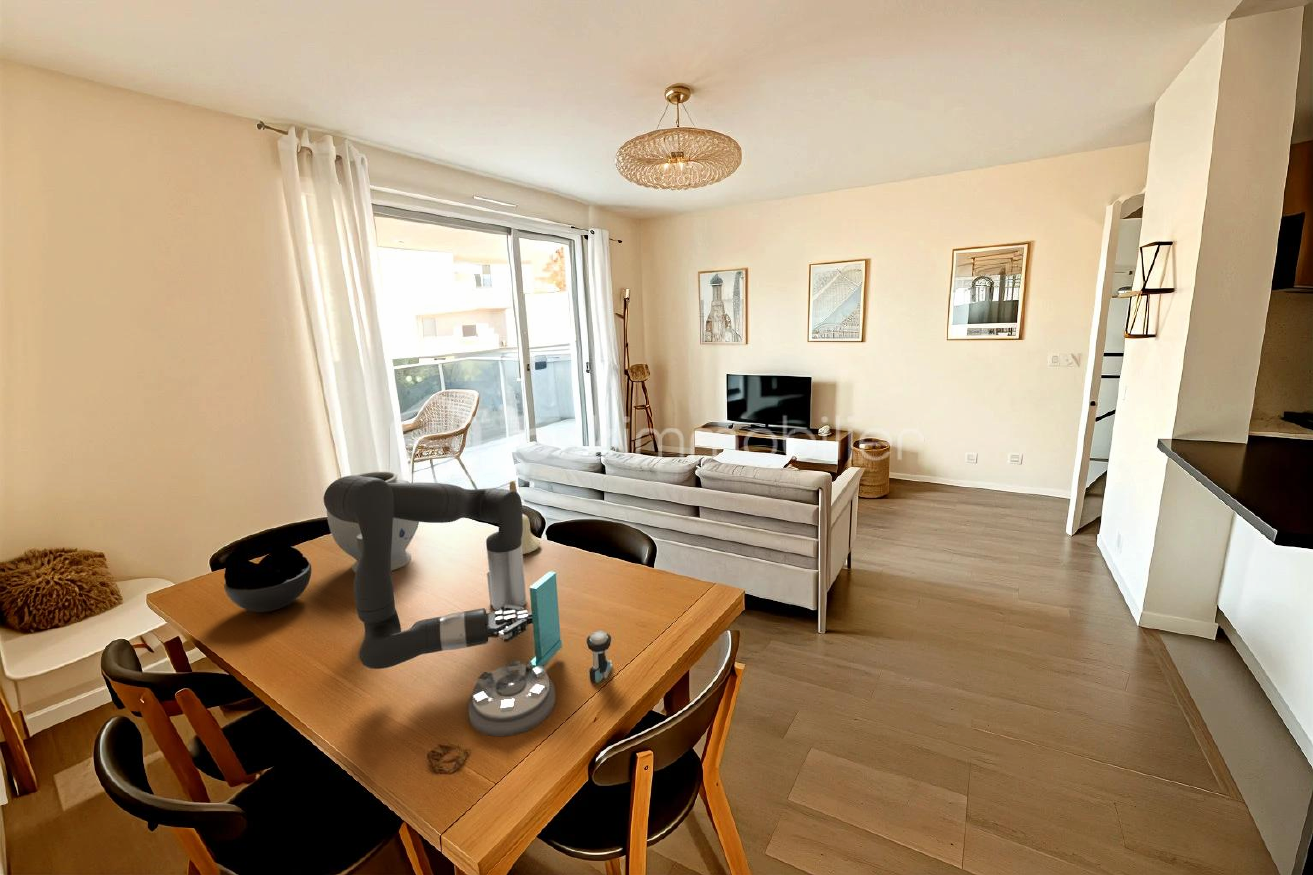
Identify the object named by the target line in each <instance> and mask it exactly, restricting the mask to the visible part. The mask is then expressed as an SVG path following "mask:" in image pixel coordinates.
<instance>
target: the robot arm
mask: <svg viewBox="0 0 1313 875" xmlns="http://www.w3.org/2000/svg"><path fill="white" fill-rule="evenodd" d="M357 475H358V474H355V475H354V474H353V475H346V476H343V477H340V478H337V479H336V480H334V481H332V483H330V484H329V485H328V486H327V488H326V490H325V492H324V493H323V494H324V495H323V504H324V505H323V506H325V508H326V511H327V510H328V512H329V513H330V514H331V515H333V516H334V517H336V518H338V519H340V520H343V521H348V522H353V523H358V524H359V527H360V531H361V535H362V541H363V550H362V556H361V559H360V562H359V565H358V568H357V570H356V573H355V574H354V578H353V592H354V600H355V608H356V613H357V616H358V619H359V620H360V621H361V622H362V623H363V625H364V639H363V641H362V643H361V646H360V648H359V652H358V656H359V657H358V658H359V660H360V661H359V662H360V663H361V664H362V665H363V666H364V667H366V668H369V669H372V670H373V669H374V670H382V669H383V670H384V669H388V668H391V667H395V666H398V665H400V664H402V663H405V662H407V661H411V660H412V659H415V658H416V657H419V656H421V655H426V654H427V655H428V654H433V653H437V652H442V651H455V650H459V649H466V648H470V647H476V646H477V647H478V646H481V645H486V644H488V642H489V638H495V639H497V638H499V637H500V638H502V639H503V642H504V643H508V642H510V641H511V640H513V639H514V638H516V637H518V636H520V635H521V634H523V633H524V632H526V631H527V627H529V625H530V624H531V625H533V622H532V610H531V611H528V610H526V609H525V608H524V606H525V605H526V603H527V593H526V592H527V591H526V590H527V589H526V579H525V569H524V554H522V543H521V538H522V533H523V516H522V514H523V502H522V498H521V496H520V494H519V492H518V491H517V492H516V491H513V490H510V489H504V488H496V487H495V488H494V487H490V488H489V487H488V488H479V489H478V488H477V489H476V488H475V489H466V488H463V487H461V486H458V485H455V484H449V483H439V482H423V481H421V482H417V481H416V482H410V483H387V482H385V481H384V480H382V479H379V478H373V477H364V476H357ZM393 518H398V519H404V520H410V521H417V522H419V523H428V524H430V523H431V524H435V523H436V524H445V523H452V522H456V521H459V520H461V519H472V520H478V521H483V522H487V523H493V524H498V531H496V532H494V533H491V534H489V535H488V537H487V538H486V540H485V541H486V542H485V543H486V554H487V561H488V562H487V565H488V571H487V574H486V577H487V586H488V597H489V605H491V606H492V609H493V611H491V612H488V613H487V610H486V608H484V607H483V608H477V609H472V610H465V611H460V612H454V613H450V614H446V615H443V616H437V617H431V618H425V619H421V620H418V621H416V622H415V623H413V624H412V626H411V627H410V628H408V629H406V630H403V631H402V627H401V621H400V618H399V615H398V611H397V608H396V602H395V601H396V599H395V592H394V582H393V577H392V571H391V548H392V528H393Z"/></svg>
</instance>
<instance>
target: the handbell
mask: <svg viewBox="0 0 1313 875" xmlns="http://www.w3.org/2000/svg"><path fill="white" fill-rule="evenodd" d="M517 489H518V488H517V485H516V482H515V480H511V481H510V482H509V490H513V491H516V492H517V493H518V491H517ZM522 516H523V533H522V538H521V543H522V555H524V554H530V553H531V552H533V551H535V550H537V549H538V548H539V547H540V545H541V541H540V539H539V538H538V537H536V536H535V535H534V534H533V533H532V531H531V524H530V523H531V522H530V519H529V517H528V516H527V515H526V514H524V513H522Z"/></svg>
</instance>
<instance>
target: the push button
mask: <svg viewBox="0 0 1313 875" xmlns="http://www.w3.org/2000/svg"><path fill="white" fill-rule="evenodd" d="M611 642H612V636H611V635H610V633H607V632H606V631H604V630H596V631H594V632H592V633H590V635H589V636H588V637H587V638H586V645H587V648H588V649H589V650H590V651H591V652H592V661H593V662H592V667H590V669H589V680H590V681H592V682H595V683H597V684H599V683H600V682H601V681H602V680H603V679H607V678H608V676H609V674H610V673H611V668H612V666H613V660H612V659H609V660H608V657H607V650H608V649H609V648H610V647H611Z"/></svg>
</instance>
